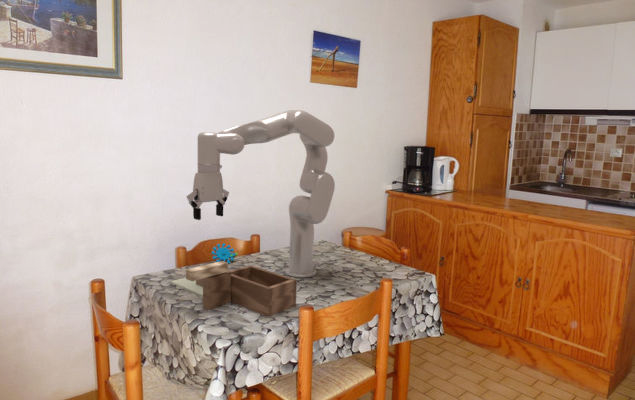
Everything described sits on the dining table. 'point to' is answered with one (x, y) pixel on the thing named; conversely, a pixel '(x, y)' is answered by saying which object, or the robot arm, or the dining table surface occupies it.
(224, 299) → the brown wooden box
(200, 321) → the dining table surface
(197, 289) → the lid
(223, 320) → the dining table surface
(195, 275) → the bar
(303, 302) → the dining table surface
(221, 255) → the blue spiky virus toy
